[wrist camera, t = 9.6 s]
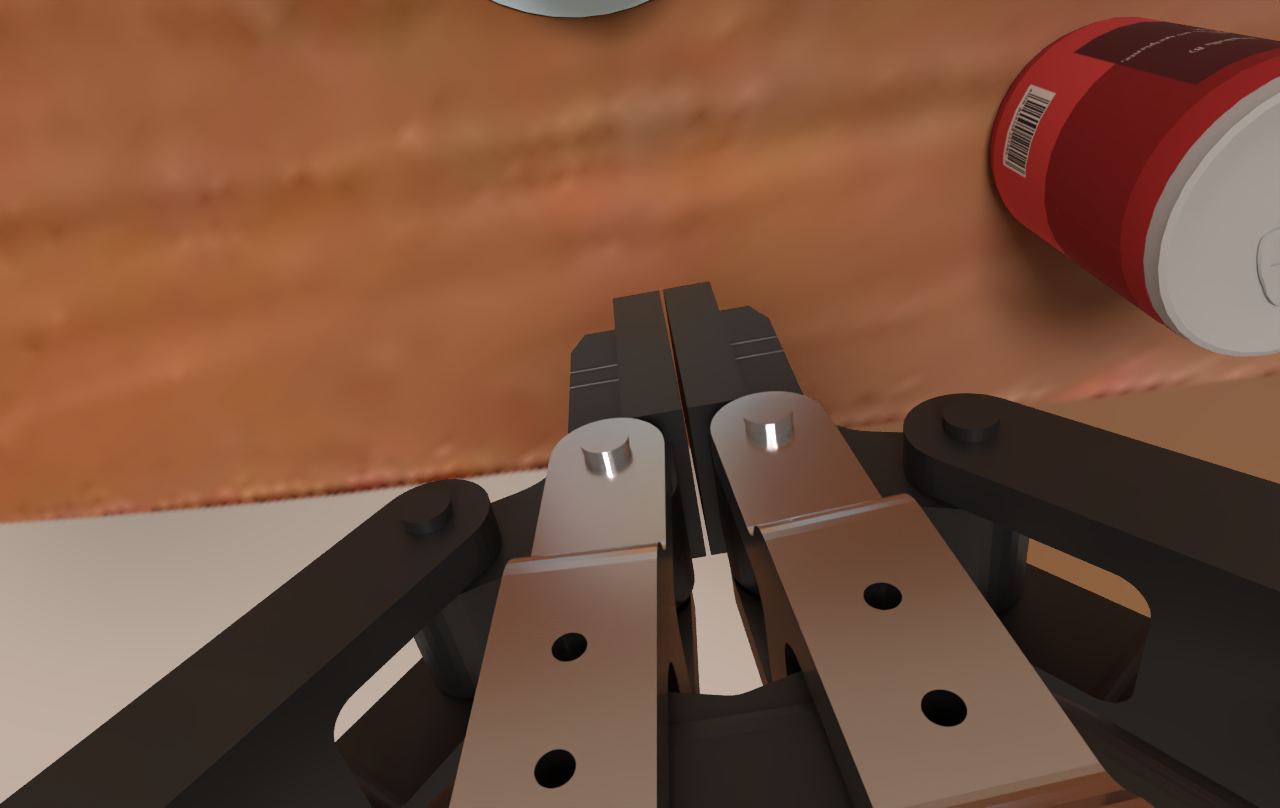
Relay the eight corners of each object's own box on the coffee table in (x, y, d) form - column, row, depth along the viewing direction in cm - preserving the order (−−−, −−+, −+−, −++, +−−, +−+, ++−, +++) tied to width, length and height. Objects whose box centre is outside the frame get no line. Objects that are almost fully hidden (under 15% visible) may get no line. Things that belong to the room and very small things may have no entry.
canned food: (1022, 266, 33) (1195, 405, 24) (950, 97, 29) (1120, 182, 20) (1209, 160, 31) (1478, 265, 22) (1157, -35, 27) (1454, -10, 18)
